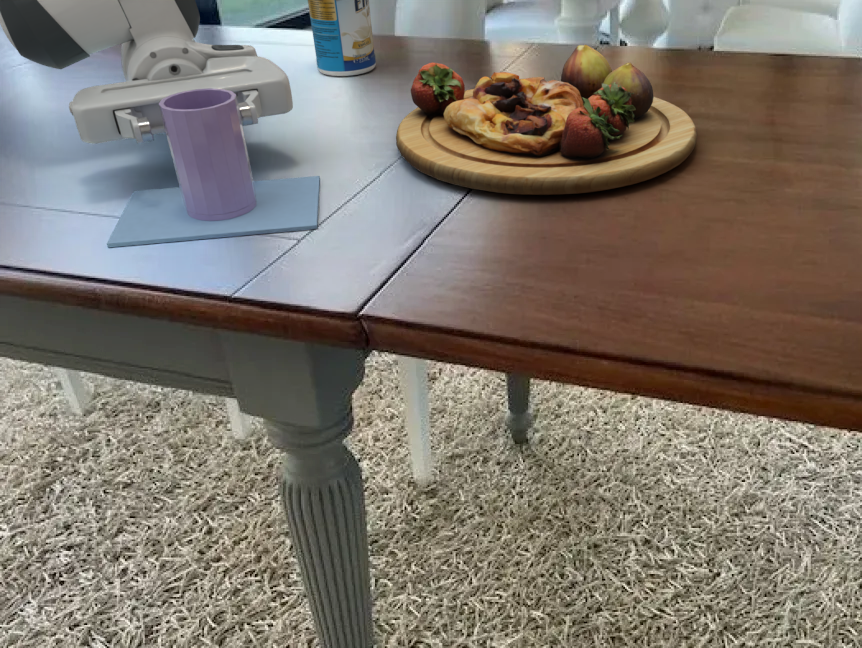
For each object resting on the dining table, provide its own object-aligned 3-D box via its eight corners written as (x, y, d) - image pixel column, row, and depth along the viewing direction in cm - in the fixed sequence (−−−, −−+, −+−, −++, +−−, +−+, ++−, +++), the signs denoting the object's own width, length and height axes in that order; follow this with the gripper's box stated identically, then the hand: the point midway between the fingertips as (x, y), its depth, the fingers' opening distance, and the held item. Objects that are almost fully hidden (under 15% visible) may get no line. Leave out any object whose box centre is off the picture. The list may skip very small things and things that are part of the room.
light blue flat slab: (107, 247, 74) (106, 243, 74) (134, 194, 84) (133, 190, 84) (317, 229, 76) (316, 224, 76) (320, 179, 86) (319, 175, 86)
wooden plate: (334, 159, 90) (323, 79, 86) (513, 85, 111) (512, 18, 106) (591, 231, 74) (594, 137, 69) (744, 128, 95) (755, 51, 90)
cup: (181, 223, 77) (152, 113, 71) (192, 196, 82) (166, 91, 76) (253, 217, 77) (231, 107, 72) (259, 190, 83) (239, 86, 77)
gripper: (57, 70, 83) (64, 108, 73) (267, 42, 90) (300, 73, 80) (77, 133, 87) (86, 178, 76) (277, 102, 93) (310, 140, 83)
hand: (197, 124), depth 78 cm, fingers open, 8 cm apart
